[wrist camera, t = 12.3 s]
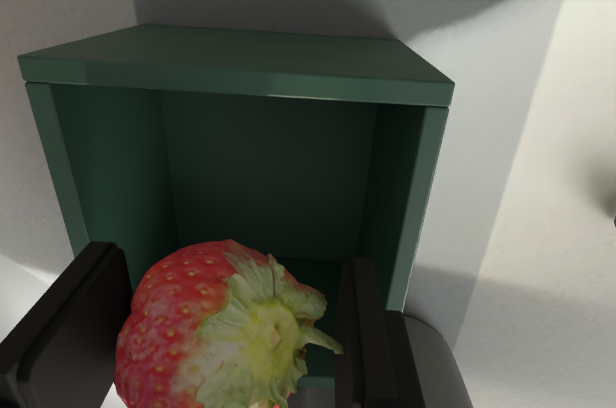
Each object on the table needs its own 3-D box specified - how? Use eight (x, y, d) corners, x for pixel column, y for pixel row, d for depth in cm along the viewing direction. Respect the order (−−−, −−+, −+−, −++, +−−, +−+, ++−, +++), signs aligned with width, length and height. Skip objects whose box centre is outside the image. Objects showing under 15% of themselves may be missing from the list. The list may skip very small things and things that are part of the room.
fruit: (87, 271, 11) (-59, 460, 7) (262, 169, 9) (214, 333, 5) (188, 360, 13) (121, 555, 9) (350, 286, 11) (370, 484, 7)
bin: (142, 23, 16) (14, 55, 9) (399, 39, 16) (456, 82, 9) (173, 252, 21) (107, 376, 15) (364, 264, 21) (384, 392, 15)
